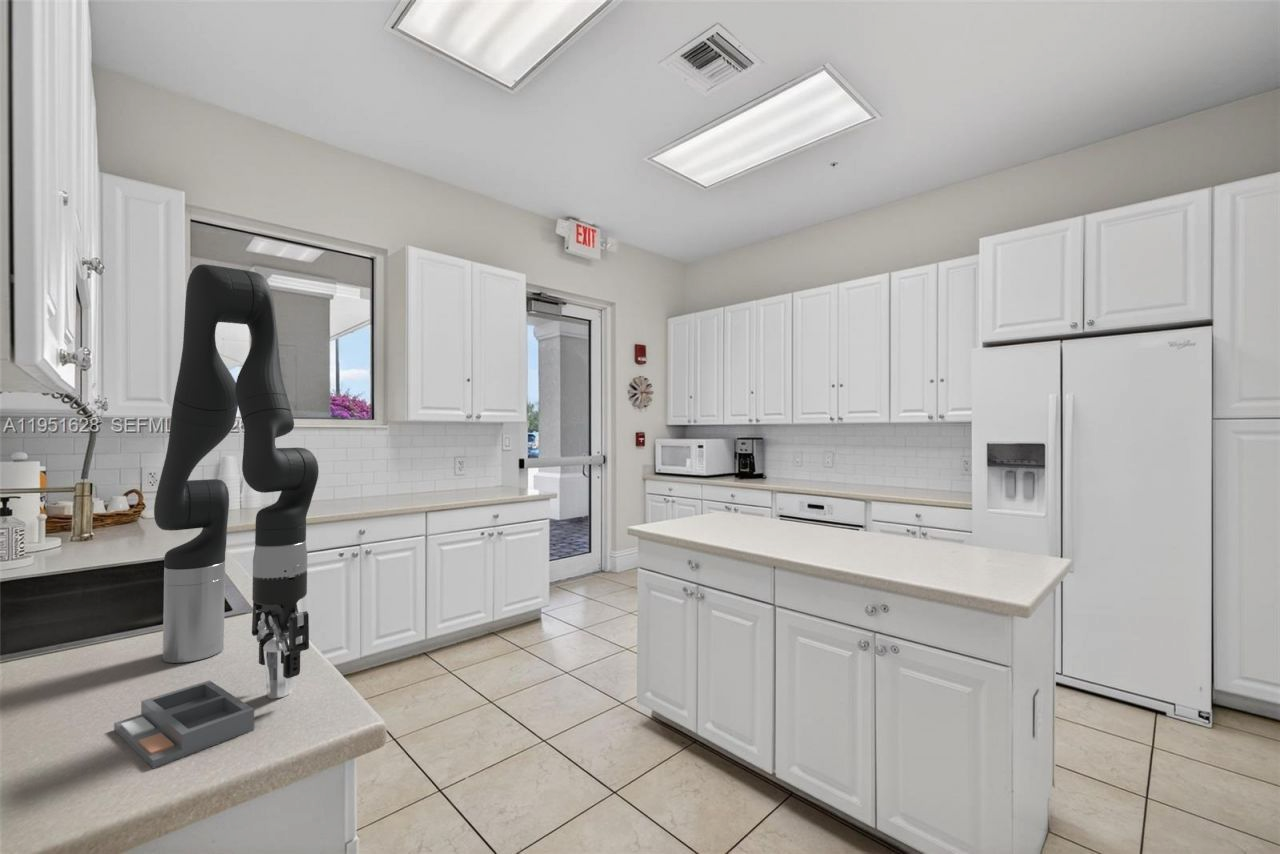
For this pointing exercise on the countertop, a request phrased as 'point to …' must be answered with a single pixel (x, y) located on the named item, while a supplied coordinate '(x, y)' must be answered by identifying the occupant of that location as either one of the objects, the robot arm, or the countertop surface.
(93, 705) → the countertop surface
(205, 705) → the dock
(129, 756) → the countertop surface
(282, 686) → the milkshake
